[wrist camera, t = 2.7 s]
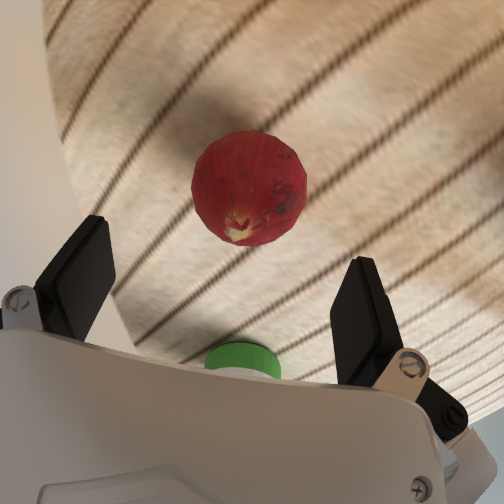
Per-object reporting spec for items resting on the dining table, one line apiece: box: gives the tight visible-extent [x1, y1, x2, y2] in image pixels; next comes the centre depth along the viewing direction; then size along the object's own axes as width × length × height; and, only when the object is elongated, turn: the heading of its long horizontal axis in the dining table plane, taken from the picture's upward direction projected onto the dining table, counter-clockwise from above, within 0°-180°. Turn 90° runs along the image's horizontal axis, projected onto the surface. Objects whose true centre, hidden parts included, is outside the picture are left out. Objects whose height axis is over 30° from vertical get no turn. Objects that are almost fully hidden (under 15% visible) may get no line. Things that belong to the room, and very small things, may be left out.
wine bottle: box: [204, 342, 281, 379], centre depth 20 cm, size 8×8×30 cm
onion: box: [191, 130, 307, 246], centre depth 16 cm, size 6×6×8 cm
